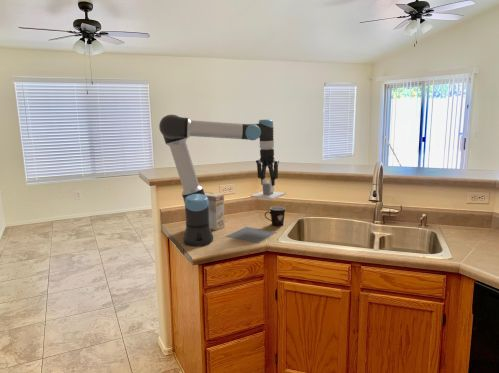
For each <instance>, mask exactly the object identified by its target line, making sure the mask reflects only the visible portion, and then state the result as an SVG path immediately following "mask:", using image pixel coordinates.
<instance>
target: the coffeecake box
mask: <svg viewBox="0 0 499 373" xmlns="http://www.w3.org/2000/svg"><path fill="white" fill-rule="evenodd" d="M204 193H205V195H206V196H207V197H208V201H209V226H210V229H211V230H213V231H219V230H222V229H225V227H226V226H225V224H226V223H225V222H226V221H225V199H224V198H225V196H224V194H222V193H215V192H209V191H204Z"/></svg>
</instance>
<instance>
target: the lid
mask: <svg viewBox="0 0 499 373" xmlns="http://www.w3.org/2000/svg"><path fill="white" fill-rule="evenodd" d="M282 196H286V192H282V191H281V192H280V191H273V192H270V182H266V183H264V184H263V185H262V191H260V192H257V193H254V194H251V195H250V198H255V199H263V200H270V201H271V200H272V201H273V200H276V199H279V198H281V197H282Z"/></svg>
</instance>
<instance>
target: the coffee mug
mask: <svg viewBox="0 0 499 373" xmlns="http://www.w3.org/2000/svg"><path fill="white" fill-rule="evenodd" d="M285 213H286V207H284V206H272V207H270V209H269V211H266V212H265V213H264V217H265V218H266V219H267V220H268V221H270V222H271V226H274V227H283V226H284V221H285ZM267 214H270V218H271V219H270V218H268V217H267Z"/></svg>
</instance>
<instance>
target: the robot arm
mask: <svg viewBox="0 0 499 373" xmlns="http://www.w3.org/2000/svg"><path fill="white" fill-rule="evenodd" d="M158 125H159V126H158V128H159V131H160V133H161V135H162V136H163V141H164V142H165V144H166V145H167V146H168V147H169V148H170V152H171V155H172V158H173V161H174V165H175V167H176V170H177V171H176V172H177V174H178V176H179V181H180V183H181V186H182V189H183V190H182V192H181V197H182V200H183V202H184V208H185V230H184V233H183V234H184V235H183V236H182V237H183V238H182V240H183V241H182V242H183V244H184V245H186V246H190V247H202V246H207V245H210V244H212V243H213V242H214V234H213V233H212V229H210V226H209V201H208V197H207V196H206V195H205V193H204V192H205V190H204V188H203V186H201V185H200V183H199V180H198V177H197V175H196V171H195V167H194V164H193V161H192V157H191V153H190V151H189V148H188V145H187V140H188V139H189V138H190V137H199V138H201V137H202V138H203V137H204V138H215V139H217V138H218V139H231V140H232V139H233V140H246V141H256V140H258V139H259V156H260V157H259V159H257V160H255V162H256V168H257V178H258V179H260V181H261V182H260V185H261V186H263V184H264V183H267V179H266V172H267V168H268V172H269V177H270V179H269V183H270V192H275V190H274V186H275V185H276V184H275V183H276V182H275V180H276V179H278V178H279V163H280V160H276V158H275V157H274V156H275V149H274V148H275V146H274V144H275V142H274V139H275V138H274V122H273V120H272V119H259V120H258V123H235V122H234V123H232V122H223V121H222V122H218V121H208V120H207V121H205V120H204V121H203V120H191V119H190V118H189V117H181V116H178V115H177V114H167V115H165V116H163V117H162V118H161V120H160V121H159V124H158Z"/></svg>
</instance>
